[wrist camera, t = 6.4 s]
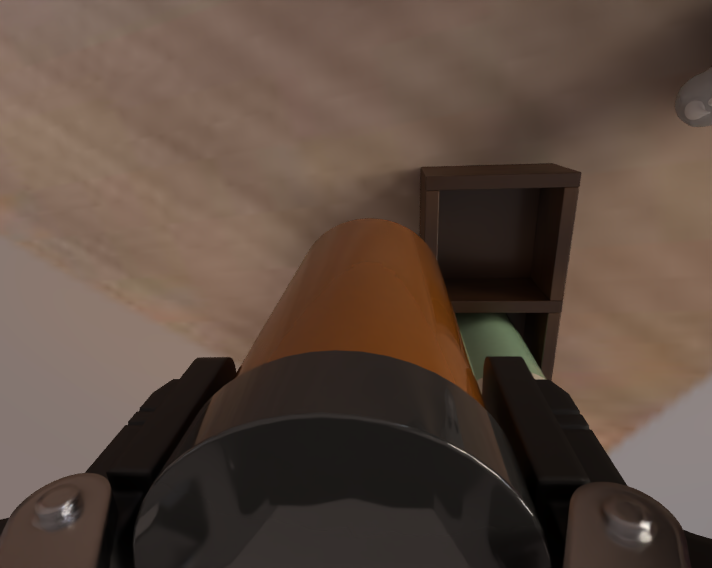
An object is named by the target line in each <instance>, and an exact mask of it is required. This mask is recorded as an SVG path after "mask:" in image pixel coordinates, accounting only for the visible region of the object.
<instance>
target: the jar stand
mask: <svg viewBox="0 0 712 568" xmlns="http://www.w3.org/2000/svg"><path fill="white" fill-rule="evenodd" d="M580 179H581V172H578V171H575V170H572V169H569V168H566V167H562V166H559V165H556V164H553V163H546V164H511V165H476V166H441V167H421V168H420V232H419V237H420V238H422V240H423V241H424V242H425V243H426V244H427V245H428V246H429V248H430V249H431V250H432V252H433V253H434V255H435V257H436V259H437V261H438V264H439V267H440V270H441V273H442V276H443V279H444V282H445V285H446V288H447V291H448V294H449V297H450V300H451V303H452V306H453V309H454V312H455V313H508V315H509V316H510V318H511V319H512V321H513V323H514V325H515V326H516V328H517V330H518V331H519V333H520V335H521V336H522V338H523V340H524V342H525V343H526V345H527V347H528V348H529V350H530V352H531V354H532V355H533V357H534V359H535V360H536V362H537V364H538V366H539V367H540V369H541V371H542V372H543V374H544V376H545V377H546V379H549V380H550V381H551V380H552V373H553V366H554V359H555V352H556V345H557V338H558V331H559V324H560V317H561V312H562V305H563V297H564V290H565V283H566V276H567V269H568V262H569V255H570V248H571V241H572V234H573V227H574V220H575V213H576V206H577V199H578V192H579V186H580Z"/></svg>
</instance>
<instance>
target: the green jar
mask: <svg viewBox="0 0 712 568" xmlns="http://www.w3.org/2000/svg"><path fill="white" fill-rule="evenodd" d="M455 315H456V318H457V321H458V324H459V327H460V330H461V333H462V337H463V340H464V343H465V346H466V349H467V352H468V355H469V358H470V361H471V364H472V367H473V370H474V373H475V376H476V379H477V382H478V385H479V388H480V391H481V394H482V384H483V368H484V361H485V358H486V357H488V356H521V357H522V358H523V359H524V361H525V363H526V364H527V366H528V368H529V370H530V372H531V373H532V375H533V377H534V379H546V377H545V376H544V374H543V372H542V371H541V369H540V367H539V366H538V364H537V362H536V360H535V359H534V357H533V355H532V354H531V352H530V350H529V348H528V347H527V345H526V343H525V342H524V340H523V338H522V336H521V335H520V333H519V331H518V330H517V328H516V326H515V325H514V323H513V321H512V319H511V318H510V316H509V315H508V313H455Z"/></svg>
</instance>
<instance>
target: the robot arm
mask: <svg viewBox="0 0 712 568" xmlns="http://www.w3.org/2000/svg"><path fill="white" fill-rule="evenodd" d="M235 374H236V368H235V364H234V361H233V360H232V358H230V357H208V358H204V357H203V358H197V359H195V360H194V361H193V363H192V364H191V365H190V367H189V368H188V369H187V370H186V372H185V373H184V374H183V375H182V377H181V378H180V379H173V380H171V381H170V382H168V383H167V384H165V385H164V386H162V387H161V388H159V389H158V390H156V391H155V392H154V393H152V394H151V396H150V397H149V398H148V399H147V401H145V403H144V404H143V405H142V406H141V407H140V411H139V412H136V413H135V414H134V416H133V417H132V418H131V419H130V420H129V421H128V425H125V426H124V428H123V429H122V430H121V431H120V432H119V433H118V435H117V436H116V437H115V438H114V439H113V440H112V442H111V443H110V444H109V445H108V446H107V448H106V449H105V450H104V451H103V452H102V453H101V454H100V456H99V457H98V458H97V459H96V460H95V462H94V463H93V464H92V465H91V466H90V467H89V469H88V470H87V471H86V472H85V473H80V474H75V475H70V476H67V477H63V478H61V479H59V480H56V481H53V482H51V483H49V484H48V485H45V486H44V487H42V488H40V489H39V490H37V491H35V492H34V493H33V494H31V495H30V496H29V497H27V498H26V499H25V500H24V501H23V502H22V503H21V504H20V505H19V506H18V507H17V508H16V509H15V510H14V511H13V513H12V514H11V516H10V517H9V518H6V519H2V520H0V568H134V565H133V553H132V540H133V533H134V525H135V520H136V517H137V514H138V511H139V508H140V505H141V502H142V501H143V499H144V497H145V495H146V493H147V492H148V490H149V488H150V486H151V485H152V483H153V481H154V480H155V478H156V477H157V475H158V474H159V472H160V471H161V469H162V467H163V466H164V464H165V463H166V461H167V460H168V458H169V457H170V455H171V453H172V452H173V450H174V449H175V447H176V446H177V444H178V443H179V441H180V439H181V438H182V436H183V435H184V433H185V432H186V430H187V429H188V427H189V425H190V424H191V422H192V421H193V419H194V418H195V416H196V415H197V413H198V412H199V411H200V410H201V408H202V407H203V406H204V405H205V403H206V402H207V401H208V400H209V399H210V398H211V397H212V396H213V395H214V394H215V393H216V392H218V391H219V390H220V389H221V388H222V387H223V386H224V385H226V384H227V383H229V382H230V381H232V379H233V378H234V376H235ZM482 397H483V400H484V403H485V406H486V409H487V411H488V412H489V413H490V414H491V415H492V417H493V418H494V419H495V421H496V422H497V423H498V425H499V426H500V427H501V429H502V430H503V431H504V433H505V435H506V436H507V438H508V440H509V442H510V444H511V446H512V448H513V450H514V452H515V455H516V457H517V460H518V463H519V465H520V468H521V471H522V473H523V476H524V479H525V481H526V484H527V487H528V490H529V492H530V495H531V498H532V500H533V503H534V506H535V508H536V511H537V514H538V516H539V519H540V522H541V525H542V527H543V530H544V533H545V536H546V539H547V542H548V545H549V548H550V551H551V555H552V563H553V568H712V539H710V538H706V537H702V536H699V535H696V534H693V533H690V532H688V531H685V530H683V529H682V527H681V525H680V523H679V522H678V521H677V520H676V518H675V517H674V516H673V515H672V514H671V513H670V511H669V510H667V509H666V508H665V507H664V506H663V505H662V504H660V503H659V502H658V501H656V500H654V499H653V498H652V497H650V496H648V495H646V494H645V493H643V492H641V491H639V490H636V489H634V488H631V487H628V486H627V485H626V483H625V482H624V480H623V478H622V477H621V475H620V474H619V472H618V470H617V469H616V468H615V466H614V464H613V463H612V461H611V459H610V458H609V456H608V455H607V453H606V452H605V450H604V449H603V447H602V445H601V444H600V442H599V441H598V439H597V438H596V436H595V434H594V433H593V431H592V430H589V425H588V424H587V422H586V420H585V419H584V417H583V416H582V415H580V411H579V409H578V408H577V406H576V405H575V403H574V402H573V400H572V399H571V397H570V395H569V394H568V393H567V392H565V391H564V390H563V389H561V388H560V387H559V386H557V385H556V384H555V383H553V382H552V381H550V380H549V379H534V377H533V375H532V373H531V372H530V370H529V368H528V366H527V364H526V363H525V361H524V359H523V358H522V357H521V356H488V357H486V358H485V361H484V368H483V384H482Z"/></svg>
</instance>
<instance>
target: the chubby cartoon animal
mask: <svg viewBox="0 0 712 568" xmlns="http://www.w3.org/2000/svg"><path fill="white" fill-rule="evenodd" d="M675 110H676V113H677V115H678V117H679V118H680V119H681V120H682V121H683V122H685V123H686V124H688V125H690V126H693V127H705V126H710V125H712V66H711V67H710V69H708V70H707V71H705V72H703V73H700V74H698V75H696V76H694V77H693V78H691V79H690V80H688V81H687V82H686V83H685V84H684V85H683V86H682V87H681V89H680V90H679V92H678V95H677V97H676V101H675Z"/></svg>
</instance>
